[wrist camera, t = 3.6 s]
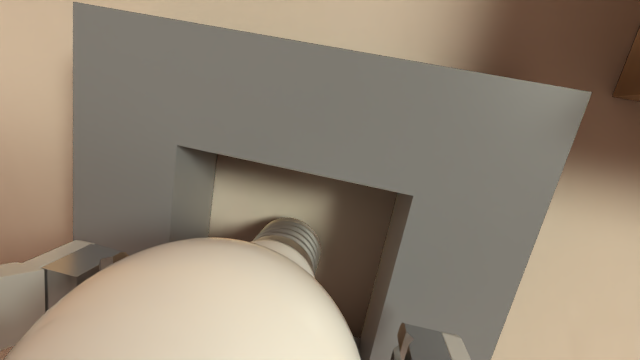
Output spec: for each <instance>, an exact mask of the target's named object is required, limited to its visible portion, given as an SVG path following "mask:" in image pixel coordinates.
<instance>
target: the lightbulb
mask: <svg viewBox="0 0 640 360" xmlns="http://www.w3.org/2000/svg"><path fill="white" fill-rule="evenodd" d="M320 256H321V246H320V241H319V239H318V237H317V235H316V233H315V232H314V230H313V229H312V228H311V227H310V226H308V225H307V224H306V223H304V222H302V221H300V220H298V219H294V218H279V219H276V220H274V221H272V222H270V223H269V224H267V225H266V226H265V227H264V228H263V229H262V230H261V231H260V233H259V234H258V235H257V236H256V237H255V238H254V239H253V241H250V242H248V241H243V240H237V239H230V238H217V237H205V238H191V239H184V240H178V241H173V242H168V243H164V244H160V245H157V246H154V247H150V248H148V249H145V250H142V251H139V252H137V253H134V254H132V255H130V256H127V257H125V258H123V259H121V260H119V261H117V262H115V263H113V264H111V265H109V266H107V267H105V268H104V269H102V270H100V271H99V272H97V273H95V274H94V275H92V276H91V277H89V278H88V279H86V280H85V281H83V282H82V283H80V284H79V285H78V286H76V287H75V288H74V289H72V290H71V291H70V292H68V293H67V294H66V295H65V296H63V297H62V298H61V299H60V300H59V301H57V302H56V303H55V304H54V305H53V306H52V307H51V308H50V309H49V310H47V311H46V312H45V313H44V314H43V315H42V316H41V317H40V318H39V319H38V320H37V321H36V322H35V323H34V324H33V325H32V326H31V327H30V328H29V329H28V331H27V332H26V333H25V334H24V335H23V336H22V337H21V338H20V340H19V341H18V342H17V343H16V344H15V345H14V347H13V348H12V349H11V350H10V352H9V353H8V354H7V355H6V357H5V358H4V359H3V360H361V357H360V354H359V351H358V348H357V345H356V343H355V340H354V337H353V335H352V333H351V330H350V328H349V326H348V324H347V322H346V320H345V318H344V317H343V315H342V313H341V311H340V310H339V308H338V307H337V305H336V304H335V302H334V301H333V299H332V298H331V297H330V295H329V294H328V293H327V291H326V290H325V289H324V288H323V287H322V286H321V284H320V283H319V282H318V281H317V280H316V279H315V273H316V270H317V266H318V263H319V260H320Z"/></svg>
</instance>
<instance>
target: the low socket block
mask: <svg viewBox="0 0 640 360" xmlns="http://www.w3.org/2000/svg"><path fill="white" fill-rule="evenodd" d="M591 94H592V92H588V91H582V90H577V89H571V88H565V87H559V86H554V85H548V84H542V83H537V82H531V81H525V80H519V79H514V78H508V77H502V76H496V75H491V74H485V73H479V72H473V71H468V70H462V69H456V68H450V67H445V66H439V65H433V64H428V63H422V62H416V61H410V60H405V59H399V58H393V57H387V56H382V55H376V54H370V53H364V52H359V51H353V50H347V49H341V48H336V47H330V46H324V45H318V44H313V43H307V42H301V41H296V40H290V39H284V38H278V37H273V36H267V35H261V34H255V33H250V32H244V31H238V30H232V29H227V28H221V27H215V26H209V25H204V24H198V23H192V22H187V21H181V20H175V19H169V18H164V17H158V16H152V15H146V14H141V13H135V12H129V11H123V10H118V9H112V8H106V7H100V6H95V5H89V4H83V3H78V2H73V241H74V240H82V241H87V242H91V243H94V244H98V245H102V246H105V247H109V248H112V249H116V250H120V251H123V252H126V253H127V254H128V255H129V256H130V255H132V254H134V253H137V252H139V251H142V250H145V249H148V248H150V247H154V246H157V245H160V244H164V243H168V242H173V241H178V240H184V239H191V238H205V237H208V233H209V224H210V215H211V206H212V197H213V188H214V179H215V170H216V161H217V154H221V155H225V156H230V157H235V158H239V159H244V160H248V161H253V162H258V163H262V164H267V165H272V166H276V167H281V168H286V169H290V170H295V171H300V172H304V173H309V174H314V175H318V176H323V177H328V178H332V179H337V180H342V181H346V182H351V183H356V184H360V185H365V186H370V187H374V188H379V189H384V190H388V191H393V192H397V196H396V200H395V204H394V208H393V212H392V216H391V220H390V224H389V228H388V232H387V235H386V239H385V243H384V247H383V251H382V255H381V259H380V263H379V267H378V271H377V275H376V278H375V282H374V286H373V290H372V294H371V298H370V302H369V306H368V310H367V314H366V317H365V321H364V325H363V329H362V333H361V337H360V338H357V337H354V340H355V343H356V345H357V348H358V351H359V354H360V357H361V360H391V356H392V352H393V349H394V348H395V347H397V346H398V345H399V344H398V337H397V334H398V331H399V328H400V326H401V324H402V323H406V324H410V325H414V326H418V327H423V328H427V329H431V330H435V331H441V332H446V333H451V334H455V335H458V336H460V337H461V339H462V341H463V343H464V345H465V348H466V350H467V352H468V354H469V357H470V359H471V360H491V358H492V355H493V352H494V350H495V347H496V344H497V342H498V339H499V337H500V334H501V331H502V329H503V326H504V323H505V321H506V318H507V315H508V313H509V310H510V308H511V305H512V302H513V300H514V297H515V294H516V292H517V289H518V286H519V284H520V281H521V279H522V276H523V273H524V271H525V268H526V265H527V263H528V260H529V257H530V255H531V252H532V250H533V247H534V244H535V242H536V239H537V236H538V234H539V231H540V228H541V226H542V223H543V221H544V218H545V215H546V213H547V210H548V207H549V205H550V202H551V199H552V197H553V194H554V192H555V189H556V186H557V184H558V181H559V178H560V176H561V173H562V171H563V168H564V165H565V163H566V160H567V157H568V155H569V152H570V149H571V147H572V144H573V142H574V139H575V136H576V134H577V131H578V128H579V126H580V123H581V120H582V118H583V115H584V113H585V110H586V107H587V105H588V102H589V99H590V97H591Z"/></svg>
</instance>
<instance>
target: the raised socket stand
mask: <svg viewBox="0 0 640 360" xmlns="http://www.w3.org/2000/svg"><path fill="white" fill-rule="evenodd" d="M612 97H618V98H623V99H629V100H635V101H640V28H639V30H638V33H637V35H636V38H635V40H634V43H633V45H632V48H631V50H630V53H629V56H628V58H627V61H626V63H625V66H624V68H623V71H622V73H621V76H620V78H619V81H618V83H617V86H616V88H615V91H614V93H613V96H612Z"/></svg>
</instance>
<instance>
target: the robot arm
mask: <svg viewBox="0 0 640 360" xmlns="http://www.w3.org/2000/svg"><path fill="white" fill-rule="evenodd" d="M127 256H129V255H128V254H127V253H126V252H123V251H120V250H116V249H112V248H109V247H105V246H102V245H98V244H94V243H91V242H87V241H82V240H74V241H72V242H70V243H67V244H65V245H63V246H60V247H58V248H56V249H53V250H51V251H49V252H46V253H44V254H42V255H40V256H37V257H35V258H33V259H30V260H28V261H26V262H23V263H19V262H13V263H7V264H0V351H2V350H5V349H7V348H10V347H12V346H14V345H15V344H16V343H17V342H18V341H19V340H20V338H21V337H22V336H23V335H24V334H25V333H26V332H27V331H28V329H29V328H30V327H31V326H32V325H33V324H34V323H35V322H36V321H37V320H38V319H39V318H40V317H41V316H42V315H43V314H44V313H45V312H46V311H47V310H49V309H50V308H51V307H52V306H53V305H54V304H55V303H56V302H57V301H59V300H60V299H61V298H62V297H63V296H65V295H66V294H67V293H68V292H70V291H71V290H72V289H74V288H75V287H76V286H78V285H79V284H80V283H82V282H83V281H85V280H86V279H88V278H89V277H91V276H92V275H94V274H95V273H97V272H99V271H100V270H102V269H104V268H105V267H107V266H109V265H111V264H113V263H115V262H117V261H119V260H121V259H123V258H125V257H127ZM397 337H398V344H399V345H398V346H397V347H395V348H394V349H393V352H392V356H391V360H471V359H470V357H469V354H468V352H467V350H466V348H465V345H464V343H463V341H462V339H461V337H460V336H458V335H455V334H451V333H446V332H441V331H435V330H431V329H427V328H423V327H418V326H414V325H410V324H406V323H402V324H401V326H400V328H399V331H398V334H397Z"/></svg>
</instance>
